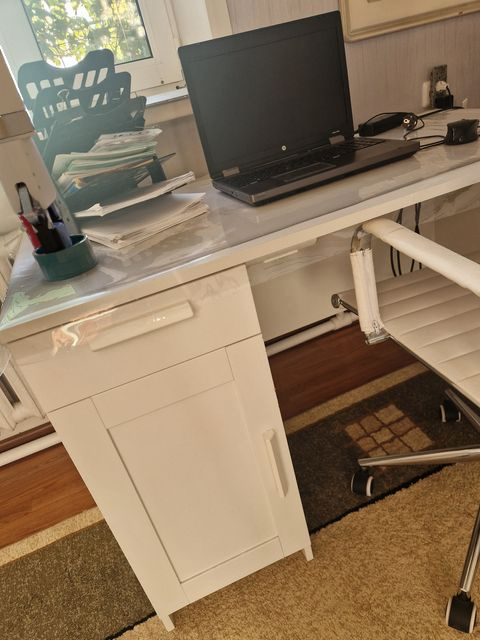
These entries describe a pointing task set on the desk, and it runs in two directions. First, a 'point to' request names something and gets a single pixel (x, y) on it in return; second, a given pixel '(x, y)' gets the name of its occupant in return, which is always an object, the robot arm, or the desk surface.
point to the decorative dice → (63, 234)
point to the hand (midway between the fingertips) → (59, 247)
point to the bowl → (66, 259)
